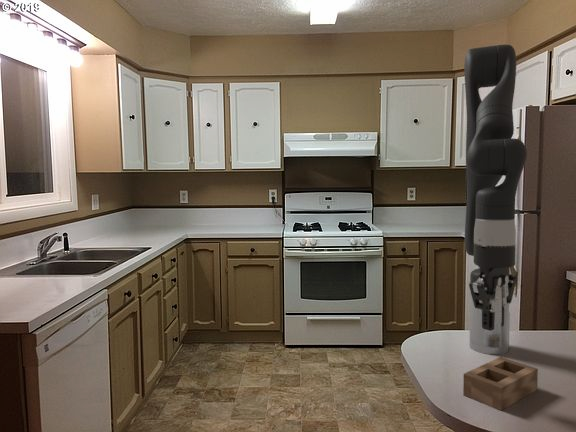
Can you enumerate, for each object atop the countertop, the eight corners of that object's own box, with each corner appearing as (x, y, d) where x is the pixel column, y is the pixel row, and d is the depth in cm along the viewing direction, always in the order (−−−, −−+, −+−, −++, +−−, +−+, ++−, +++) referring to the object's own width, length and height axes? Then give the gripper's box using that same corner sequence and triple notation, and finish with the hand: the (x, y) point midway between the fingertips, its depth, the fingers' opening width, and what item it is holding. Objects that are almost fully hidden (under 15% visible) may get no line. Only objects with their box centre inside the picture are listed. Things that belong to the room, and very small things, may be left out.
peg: (489, 341, 93) (490, 283, 92) (504, 345, 91) (505, 286, 90) (481, 344, 91) (482, 285, 91) (495, 348, 89) (496, 288, 88)
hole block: (500, 376, 101) (500, 356, 101) (537, 389, 95) (537, 368, 94) (463, 395, 93) (463, 373, 93) (501, 410, 87) (501, 387, 86)
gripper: (495, 237, 97) (494, 316, 98) (456, 243, 89) (455, 330, 90) (531, 240, 91) (529, 325, 92) (493, 247, 82) (491, 340, 84)
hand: (492, 327), depth 91 cm, fingers closed on peg, 3 cm apart
